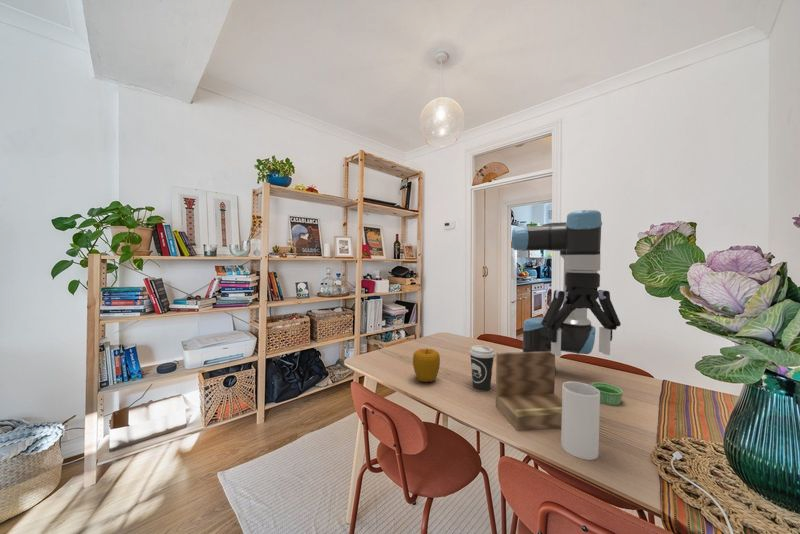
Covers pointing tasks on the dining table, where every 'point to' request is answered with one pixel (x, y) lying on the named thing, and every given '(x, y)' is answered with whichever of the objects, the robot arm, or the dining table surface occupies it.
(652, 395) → the dining table surface
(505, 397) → the shelf
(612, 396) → the ramekin
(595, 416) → the cup
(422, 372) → the apple
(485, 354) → the coffee cup
